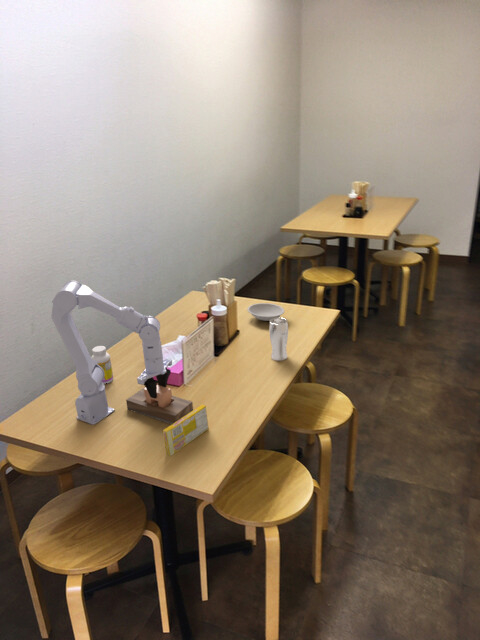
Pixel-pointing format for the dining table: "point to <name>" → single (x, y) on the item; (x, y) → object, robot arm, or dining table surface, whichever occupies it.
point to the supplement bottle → (103, 362)
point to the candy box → (185, 430)
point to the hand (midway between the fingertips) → (158, 394)
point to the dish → (265, 311)
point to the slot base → (167, 414)
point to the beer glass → (278, 338)
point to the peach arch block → (159, 396)
